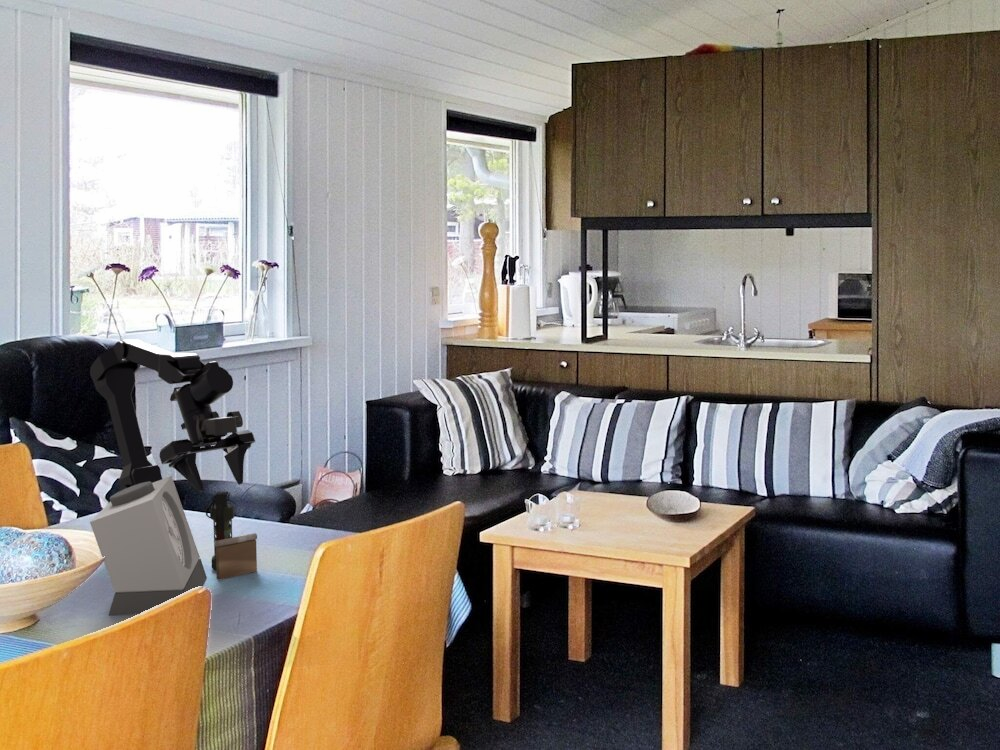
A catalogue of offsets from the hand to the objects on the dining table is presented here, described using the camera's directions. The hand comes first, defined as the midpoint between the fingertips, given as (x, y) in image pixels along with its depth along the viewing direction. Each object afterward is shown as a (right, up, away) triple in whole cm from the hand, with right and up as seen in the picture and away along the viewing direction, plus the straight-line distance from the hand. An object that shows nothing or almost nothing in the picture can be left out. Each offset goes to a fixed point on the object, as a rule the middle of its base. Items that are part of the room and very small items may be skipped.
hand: (221, 487), depth 219 cm
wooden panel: (+5, -16, -7) cm, 18 cm away
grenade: (+1, -15, -4) cm, 16 cm away
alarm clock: (-7, -17, -20) cm, 27 cm away
